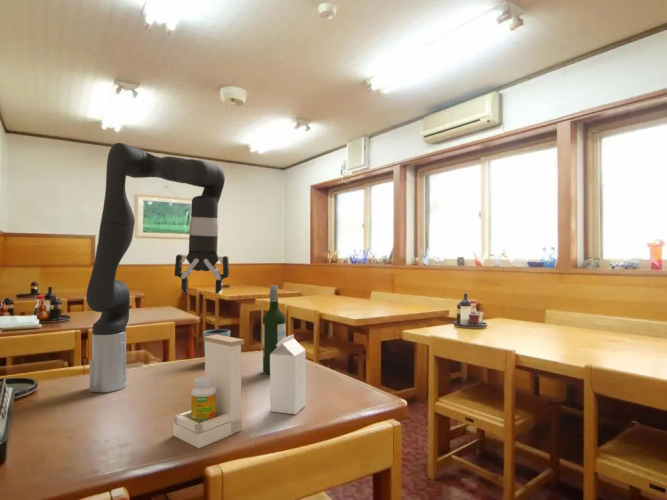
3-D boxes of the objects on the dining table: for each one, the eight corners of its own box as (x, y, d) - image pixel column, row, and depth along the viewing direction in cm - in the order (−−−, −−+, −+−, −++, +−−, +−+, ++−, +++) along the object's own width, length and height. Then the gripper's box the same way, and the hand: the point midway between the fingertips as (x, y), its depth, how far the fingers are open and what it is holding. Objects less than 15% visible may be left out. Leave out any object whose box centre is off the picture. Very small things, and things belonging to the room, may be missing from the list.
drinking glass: (204, 367, 151) (204, 334, 151) (201, 360, 161) (201, 329, 161) (232, 363, 155) (232, 332, 155) (228, 358, 165) (228, 327, 165)
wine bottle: (266, 368, 149) (266, 285, 149) (288, 369, 148) (287, 285, 148) (260, 374, 141) (259, 286, 141) (282, 375, 140) (281, 286, 140)
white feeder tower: (199, 448, 87) (199, 348, 87) (172, 435, 94) (172, 342, 94) (244, 430, 96) (244, 339, 96) (216, 418, 103) (216, 334, 103)
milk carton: (306, 405, 111) (305, 335, 112) (295, 415, 105) (294, 340, 105) (282, 402, 114) (281, 333, 114) (270, 412, 107) (269, 338, 107)
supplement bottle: (193, 427, 90) (193, 383, 90) (189, 419, 95) (189, 376, 95) (218, 423, 93) (218, 379, 93) (213, 415, 97) (213, 373, 98)
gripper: (231, 235, 119) (229, 291, 119) (180, 233, 117) (178, 290, 118) (227, 235, 111) (225, 295, 112) (173, 233, 110) (171, 293, 110)
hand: (201, 292), depth 115 cm, fingers open, 8 cm apart
